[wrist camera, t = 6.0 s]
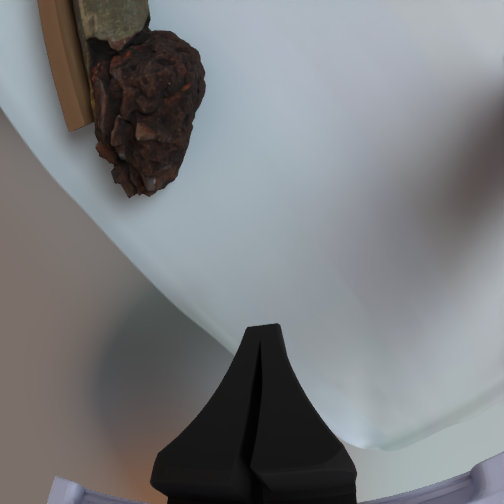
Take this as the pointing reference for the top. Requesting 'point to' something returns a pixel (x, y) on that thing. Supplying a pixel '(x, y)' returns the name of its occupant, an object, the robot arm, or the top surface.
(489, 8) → the top surface
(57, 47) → the corner fence
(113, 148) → the brown rock
